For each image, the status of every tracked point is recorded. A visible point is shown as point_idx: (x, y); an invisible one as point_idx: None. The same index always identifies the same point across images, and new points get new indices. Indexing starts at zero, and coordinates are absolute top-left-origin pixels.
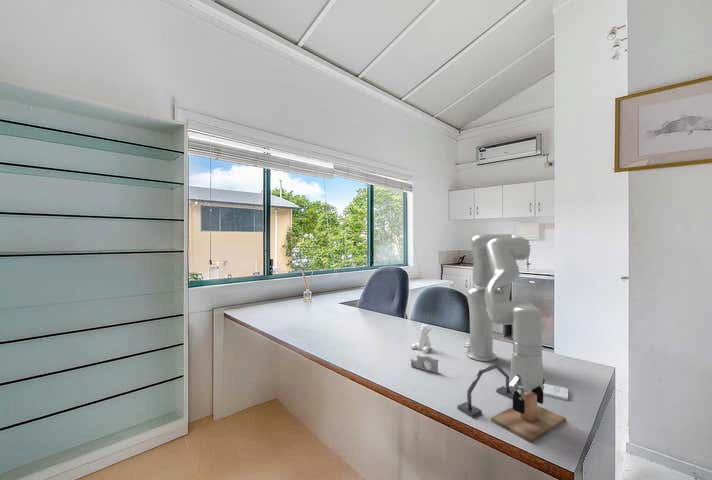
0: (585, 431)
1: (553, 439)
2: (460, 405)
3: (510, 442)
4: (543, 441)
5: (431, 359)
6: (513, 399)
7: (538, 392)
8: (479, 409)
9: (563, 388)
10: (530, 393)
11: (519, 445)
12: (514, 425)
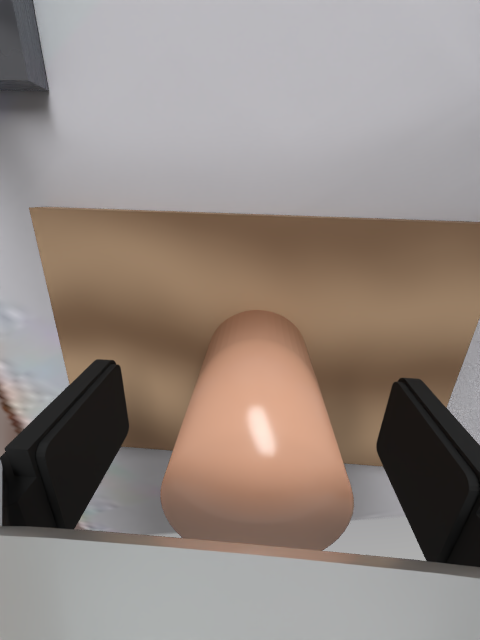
0: (380, 515)
1: None
2: None
3: (5, 377)
4: (150, 450)
5: None
6: (41, 421)
7: (426, 519)
8: (18, 52)
9: None
10: (285, 516)
11: (28, 408)
12: (100, 348)
